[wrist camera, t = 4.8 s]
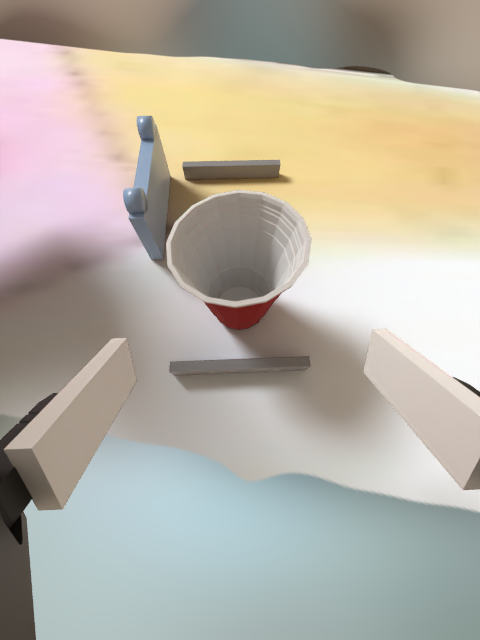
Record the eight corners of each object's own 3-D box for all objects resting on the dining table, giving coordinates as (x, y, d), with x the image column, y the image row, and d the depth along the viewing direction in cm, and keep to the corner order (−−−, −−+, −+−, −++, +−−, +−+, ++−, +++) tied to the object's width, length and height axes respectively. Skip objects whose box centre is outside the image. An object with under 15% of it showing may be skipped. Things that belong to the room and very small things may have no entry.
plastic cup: (216, 256, 31) (204, 168, 20) (295, 286, 30) (329, 209, 19) (174, 328, 28) (132, 269, 17) (262, 366, 26) (281, 330, 15)
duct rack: (138, 376, 26) (93, 358, 18) (160, 175, 37) (138, 107, 29) (305, 369, 26) (335, 348, 18) (277, 172, 37) (288, 104, 29)
